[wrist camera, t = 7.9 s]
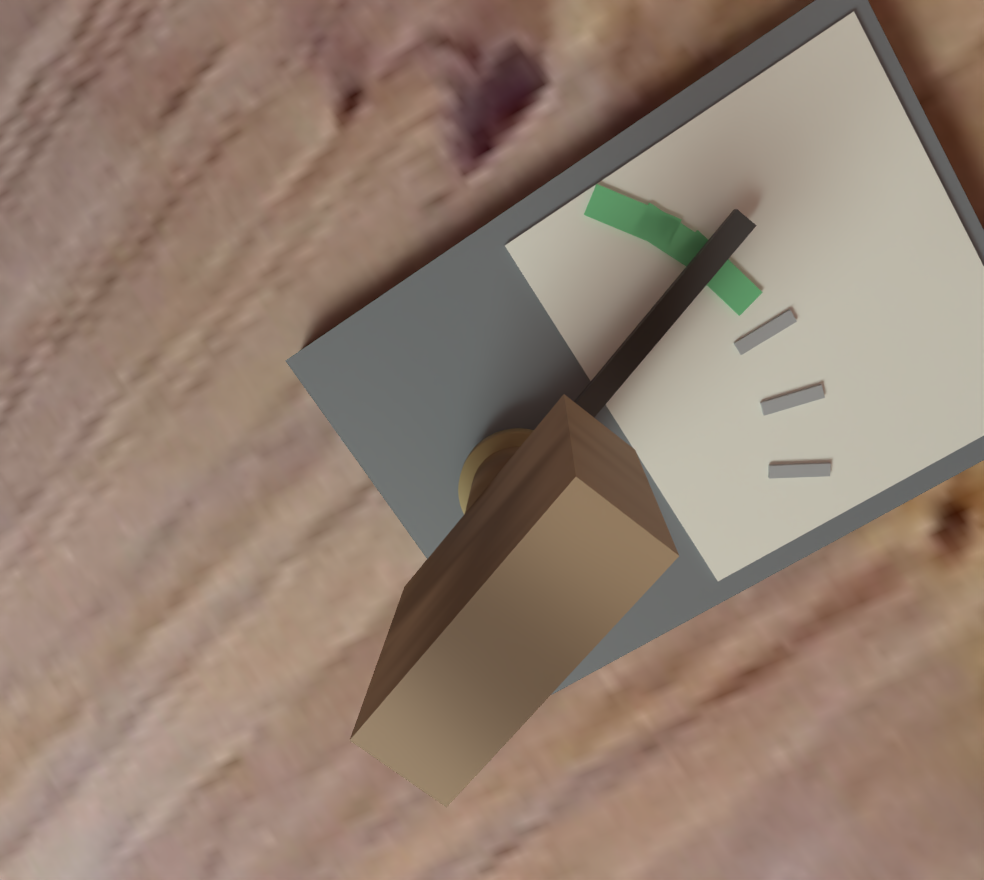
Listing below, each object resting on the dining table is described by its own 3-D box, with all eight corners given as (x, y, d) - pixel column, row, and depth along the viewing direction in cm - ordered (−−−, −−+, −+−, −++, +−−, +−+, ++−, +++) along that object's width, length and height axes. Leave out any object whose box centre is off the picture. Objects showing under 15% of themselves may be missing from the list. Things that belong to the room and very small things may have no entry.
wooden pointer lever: (494, 600, 26) (470, 823, 17) (403, 534, 26) (324, 723, 16) (792, 258, 23) (974, 289, 13) (694, 175, 23) (810, 146, 13)
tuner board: (299, 353, 27) (282, 362, 25) (834, -12, 23) (859, -31, 21) (532, 681, 29) (531, 711, 28) (1044, 399, 26) (1082, 413, 24)
